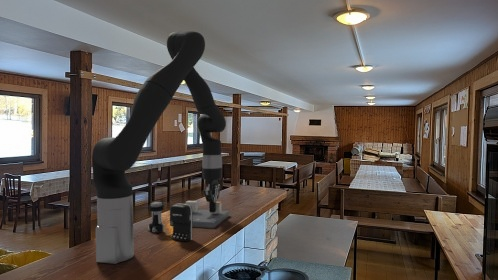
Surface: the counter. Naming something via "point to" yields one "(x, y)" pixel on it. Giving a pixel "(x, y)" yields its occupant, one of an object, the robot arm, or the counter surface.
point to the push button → (156, 217)
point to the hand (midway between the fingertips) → (212, 211)
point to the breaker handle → (218, 208)
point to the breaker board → (205, 216)
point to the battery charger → (181, 222)
